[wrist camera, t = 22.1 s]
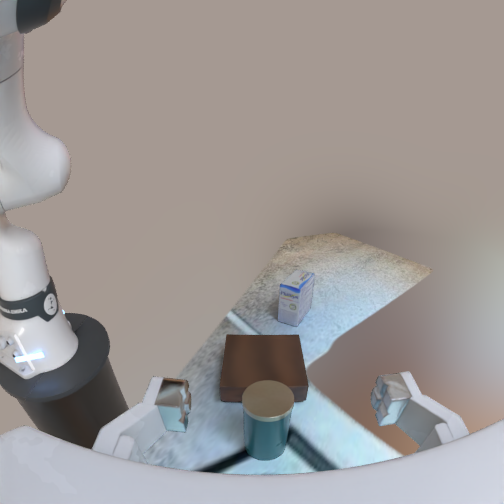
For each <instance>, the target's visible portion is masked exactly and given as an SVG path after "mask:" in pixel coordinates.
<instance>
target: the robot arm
mask: <svg viewBox="0 0 504 504" xmlns="http://www.w3.org/2000/svg"><path fill="white" fill-rule="evenodd" d="M65 2H66V0H0V362H1V363H2V364H3V365H5V366H6V367H8V368H9V369H10V370H12V371H13V372H15V373H16V374H18V375H19V376H21V377H22V378H24V379H30V378H32V377H34V376H36V375H38V374H40V373H43V372H48V371H51V370H54V369H56V368H58V367H60V366H62V365H64V364H65V363H66V362H68V361H69V360H70V359H71V358H72V357H73V355H74V354H75V352H76V350H77V348H78V339H77V337H76V335H75V334H74V332H73V331H72V326H71V324H70V322H69V321H67V319H66V317H65V315H64V310H62V308H61V305H60V303H59V301H58V299H57V293H56V289H55V285H54V282H53V280H52V277H51V276H49V273H48V269H47V265H46V261H45V256H44V252H43V247H42V243H41V241H40V239H39V238H38V236H37V235H36V234H35V233H33V232H31V231H30V230H27V229H24V228H21V227H17V226H15V225H13V224H12V223H10V221H9V220H8V219H7V217H6V214H5V211H7V210H11V209H15V208H19V207H23V206H26V205H31V204H35V203H39V202H41V201H43V200H46V199H48V198H50V197H52V196H55V195H57V194H59V193H61V192H62V191H63V190H64V188H65V186H66V185H67V183H68V180H69V177H70V173H71V158H70V154H69V151H68V149H67V147H66V146H65V144H64V143H63V142H62V141H61V140H60V139H59V138H57V137H55V136H52V135H50V134H48V133H46V132H45V131H43V130H42V129H41V128H39V126H38V125H37V124H36V123H35V122H34V121H33V119H32V118H31V116H30V115H29V112H28V110H27V106H26V101H25V93H24V80H23V79H24V78H23V69H24V68H23V67H24V33H29V32H31V31H32V30H33V29H36V28H38V27H40V26H42V25H44V24H46V23H48V22H49V21H50V20H51V19H52V18H54V17H55V16H56V15H57V14H58V13H59V12H60V10H61V7H62V6H63V4H64V3H65ZM376 384H377V386H375V387H374V388H373V390H372V392H371V404H372V407H373V408H374V409H375V410H376V411H377V413H376V415H375V416H376V418H377V421H378V424H379V426H383V425H389V424H395V423H396V425H397V426H398V427H399V428H400V429H402V430H403V431H404V432H405V433H406V434H407V435H408V436H409V437H411V438H412V439H413V440H414V441H415V442H416V443H417V444H419V445H420V447H419V449H418V450H417V451H416V452H415V453H414V454H410V455H407V456H403V457H399V458H395V459H391V460H387V461H382V462H378V463H373V464H368V465H362V466H357V467H351V468H344V469H337V470H330V471H321V472H311V473H298V474H278V475H240V474H220V473H207V472H197V471H189V470H181V469H174V468H167V467H161V466H156V465H150V464H148V462H147V461H146V459H145V457H144V456H143V454H144V453H145V452H146V451H147V450H148V449H149V448H150V447H151V446H152V445H153V444H154V443H155V442H156V441H157V440H158V439H160V438H161V437H162V436H163V435H164V434H165V433H166V432H167V431H175V432H186V429H187V424H188V417H187V415H188V414H189V413H190V410H191V394H190V392H189V391H188V388H189V384H188V381H187V380H181V379H173V378H164V377H156V376H153V377H152V378H151V380H150V383H149V385H148V388H147V391H146V393H145V396H144V398H143V401H142V403H138V404H136V405H135V406H133V407H132V408H130V409H129V410H127V411H126V412H125V413H123V414H122V415H120V416H119V417H117V418H116V419H114V420H113V421H111V422H110V423H108V424H107V425H105V426H104V427H102V428H101V429H100V431H99V434H98V436H97V438H96V441H95V443H94V445H93V448H92V450H91V449H87V448H84V447H81V446H78V445H75V444H72V443H70V442H67V441H64V440H61V439H59V438H56V437H54V436H51V435H49V434H46V433H44V432H42V431H39V430H37V429H35V428H33V427H30V426H25V425H24V426H20V427H17V428H15V429H13V430H10V431H8V432H6V433H4V434H2V435H0V504H504V419H502V420H500V421H498V422H496V423H494V424H491V425H489V426H487V427H485V428H483V429H480V430H478V431H476V432H474V433H471V434H469V432H468V430H467V428H466V426H465V424H464V422H463V420H462V419H461V417H460V416H459V415H457V414H456V413H454V412H452V411H451V410H449V409H447V408H445V407H444V406H442V405H441V404H439V403H437V402H436V401H434V400H432V399H431V398H429V397H428V396H426V395H422V394H421V392H420V390H419V388H418V386H417V384H416V382H415V381H414V379H413V377H412V375H411V373H410V372H408V371H407V372H402V373H395V374H389V375H382V376H378V378H377V380H376Z"/></svg>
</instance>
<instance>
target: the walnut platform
mask: <svg viewBox="0 0 504 504" xmlns="http://www.w3.org/2000/svg"><path fill="white" fill-rule="evenodd" d="M264 380H272V381H277V382H280V383H283V384H284V385H286V386H287V387H289V388H290V390H291V391H292V392H293V395H294V402H299V401H303V400H306V396H307V391H308V381H307V375H306V370H305V365H304V359H303V354H302V349H301V344H300V338H299V335H227V336H226V343H225V350H224V357H223V365H222V372H221V379H220V395H221V401H224V402H240V401H242V395H243V393H244V391H245V390H246V388H247V387H248V386H250V385H251V384H253V383H255V382H258V381H264Z"/></svg>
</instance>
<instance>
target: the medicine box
mask: <svg viewBox="0 0 504 504" xmlns="http://www.w3.org/2000/svg"><path fill="white" fill-rule="evenodd" d="M314 278H315V274H314V273H310V272H307V271H303V270H297V269H296V270H295V271H294V272H293V273H292V274H290V275H289V276H288V277H287V278H286V279H285V280H284V281H283V282H282V283H281V284H280V293H279V310H278V321H280V322H283V323H286V324H289V325H292V326H296V327H297V326H298V325H299V323H300V322H301V321H302V319H303V318H304V316H305V315H306V314H307V312H308V311H309V309H310V308H311V303H312V295H313V287H314Z"/></svg>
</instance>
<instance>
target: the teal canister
mask: <svg viewBox="0 0 504 504" xmlns="http://www.w3.org/2000/svg"><path fill="white" fill-rule="evenodd" d="M242 405H243V413H244V443H245V449H246V451H247V453H248V454H249V455H250V456H252V457H253V458H255V459H258V460H272V459H275V458H277V457H279V456H280V455H281V454H282V453H283V452H284V450H285V446H286V441H287V435H288V430H289V424H290V418H291V412H292V409H293V405H294V395H293V392H292V391H291V390H290V388H289V387H287V386H286V385H284V384H283V383H280V382H277V381H272V380H264V381H258V382H255V383H253V384H251V385H250V386H248V387H247V388H246V390H245V391H244V393H243V395H242Z"/></svg>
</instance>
